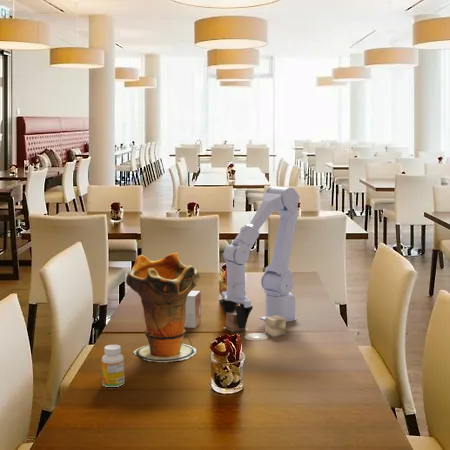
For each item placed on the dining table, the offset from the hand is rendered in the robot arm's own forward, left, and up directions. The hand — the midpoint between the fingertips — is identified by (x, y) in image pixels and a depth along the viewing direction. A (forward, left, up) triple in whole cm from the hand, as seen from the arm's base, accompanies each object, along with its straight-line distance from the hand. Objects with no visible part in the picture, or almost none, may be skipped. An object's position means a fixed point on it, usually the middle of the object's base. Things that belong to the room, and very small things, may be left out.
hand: (235, 324), depth 219 cm
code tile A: (0, 0, -1) cm, 1 cm away
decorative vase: (+29, +9, -2) cm, 30 cm away
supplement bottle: (+51, +25, -2) cm, 57 cm away
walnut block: (0, 0, -1) cm, 1 cm away
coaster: (-1, +11, -1) cm, 11 cm away
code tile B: (-8, +11, -1) cm, 13 cm away
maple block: (-8, +11, -1) cm, 13 cm away
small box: (+10, -12, -2) cm, 16 cm away
